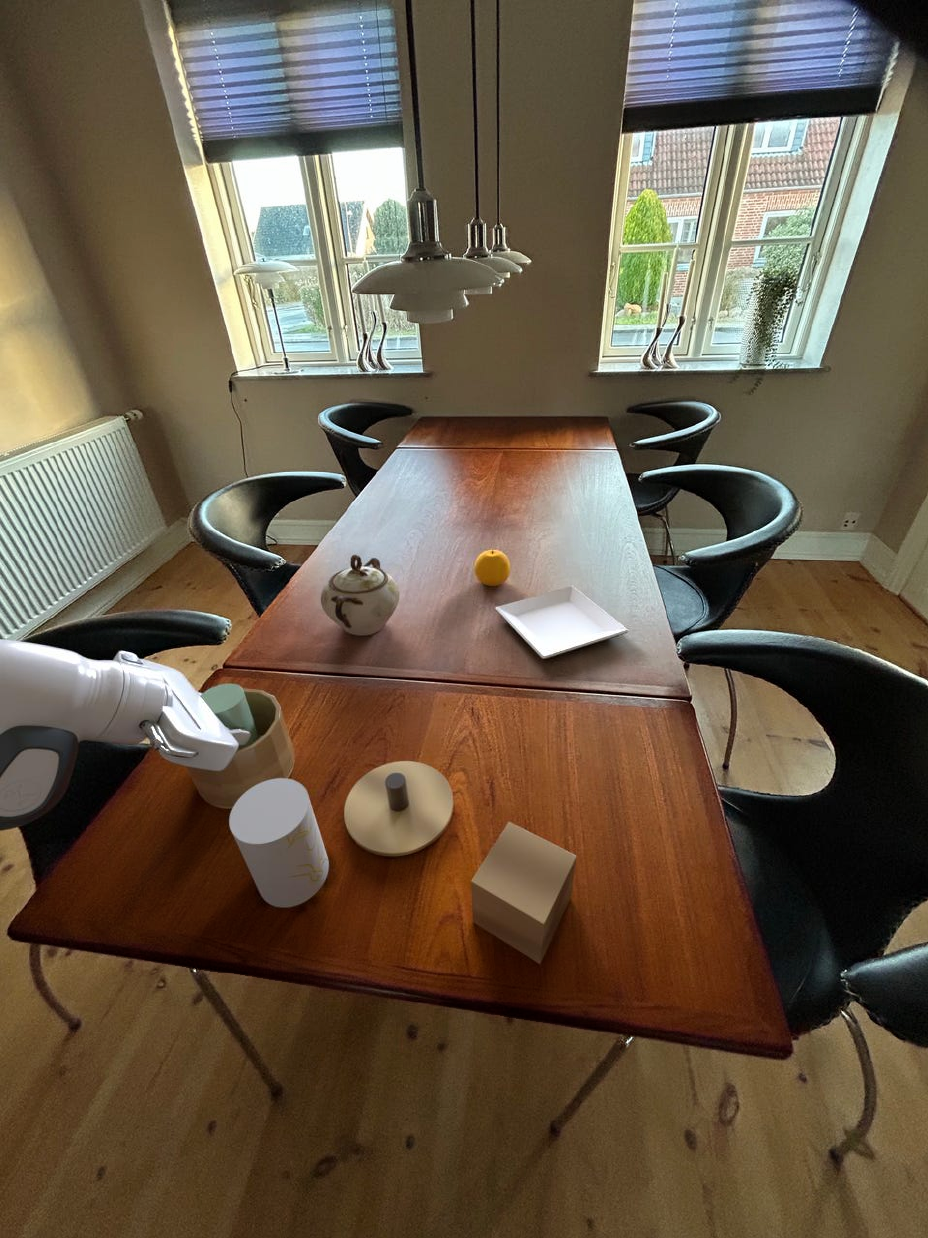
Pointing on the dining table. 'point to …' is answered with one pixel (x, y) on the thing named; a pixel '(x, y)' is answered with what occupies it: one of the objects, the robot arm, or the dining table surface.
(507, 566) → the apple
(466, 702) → the dining table surface
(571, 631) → the plate
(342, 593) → the sugar bowl
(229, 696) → the canister
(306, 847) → the white cylinder
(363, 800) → the basket lid
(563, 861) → the stand
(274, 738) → the basket
